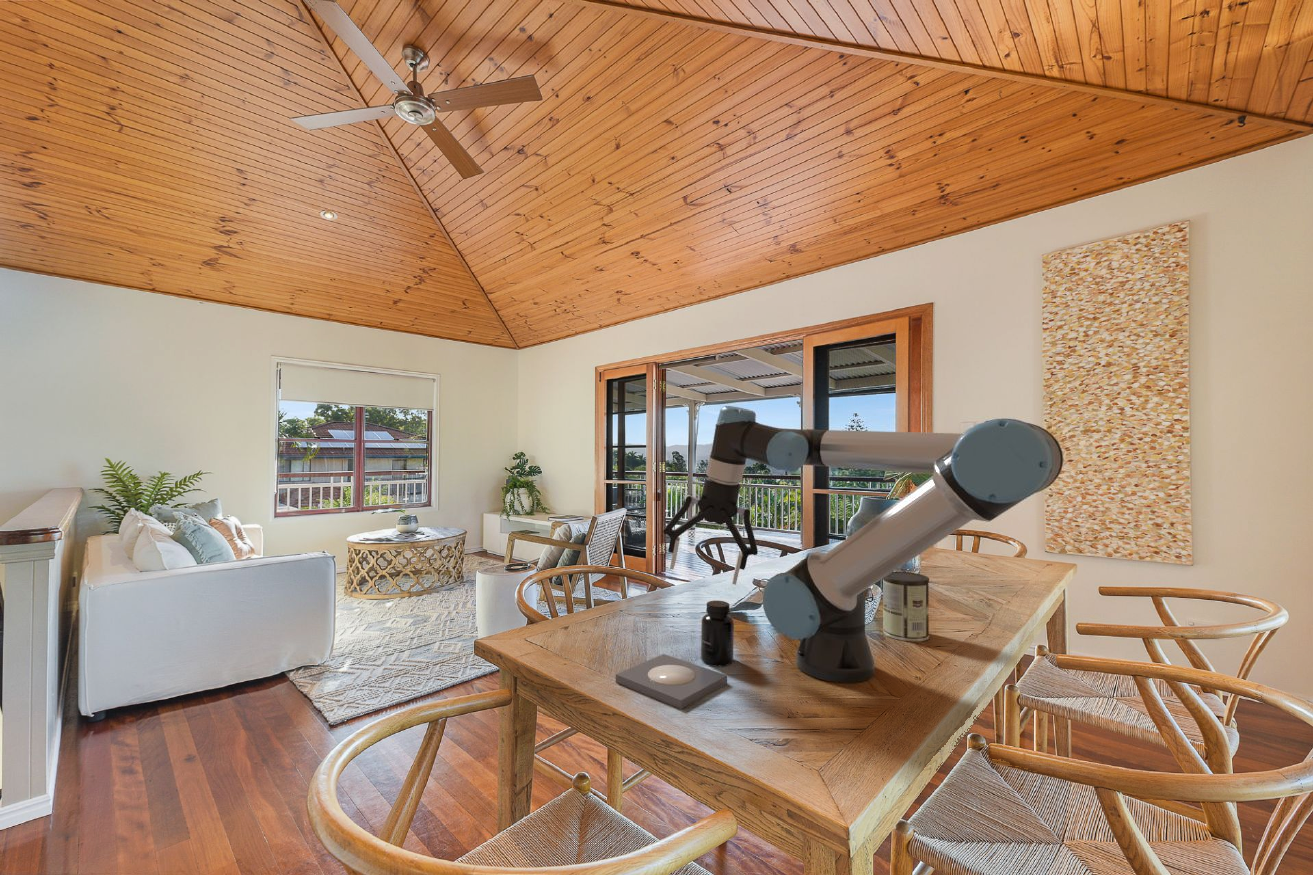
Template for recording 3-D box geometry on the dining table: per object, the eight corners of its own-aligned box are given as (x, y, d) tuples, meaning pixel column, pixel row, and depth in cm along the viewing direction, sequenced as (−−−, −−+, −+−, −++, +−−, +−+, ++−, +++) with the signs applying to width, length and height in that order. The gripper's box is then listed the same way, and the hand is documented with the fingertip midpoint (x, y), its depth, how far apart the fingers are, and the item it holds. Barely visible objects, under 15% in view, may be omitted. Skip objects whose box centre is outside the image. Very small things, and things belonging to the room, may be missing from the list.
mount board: (727, 683, 106) (727, 674, 106) (680, 708, 96) (680, 699, 96) (663, 660, 117) (663, 653, 117) (615, 682, 107) (615, 673, 107)
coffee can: (898, 624, 142) (898, 569, 142) (937, 636, 133) (937, 577, 134) (873, 632, 136) (873, 574, 136) (913, 645, 128) (913, 583, 128)
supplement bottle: (696, 663, 116) (697, 605, 116) (705, 652, 122) (706, 597, 122) (729, 668, 113) (729, 609, 113) (736, 656, 120) (737, 600, 120)
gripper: (781, 488, 119) (759, 581, 123) (667, 464, 122) (649, 555, 126) (784, 497, 112) (761, 595, 115) (662, 470, 115) (643, 567, 118)
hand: (702, 574), depth 120 cm, fingers open, 13 cm apart
